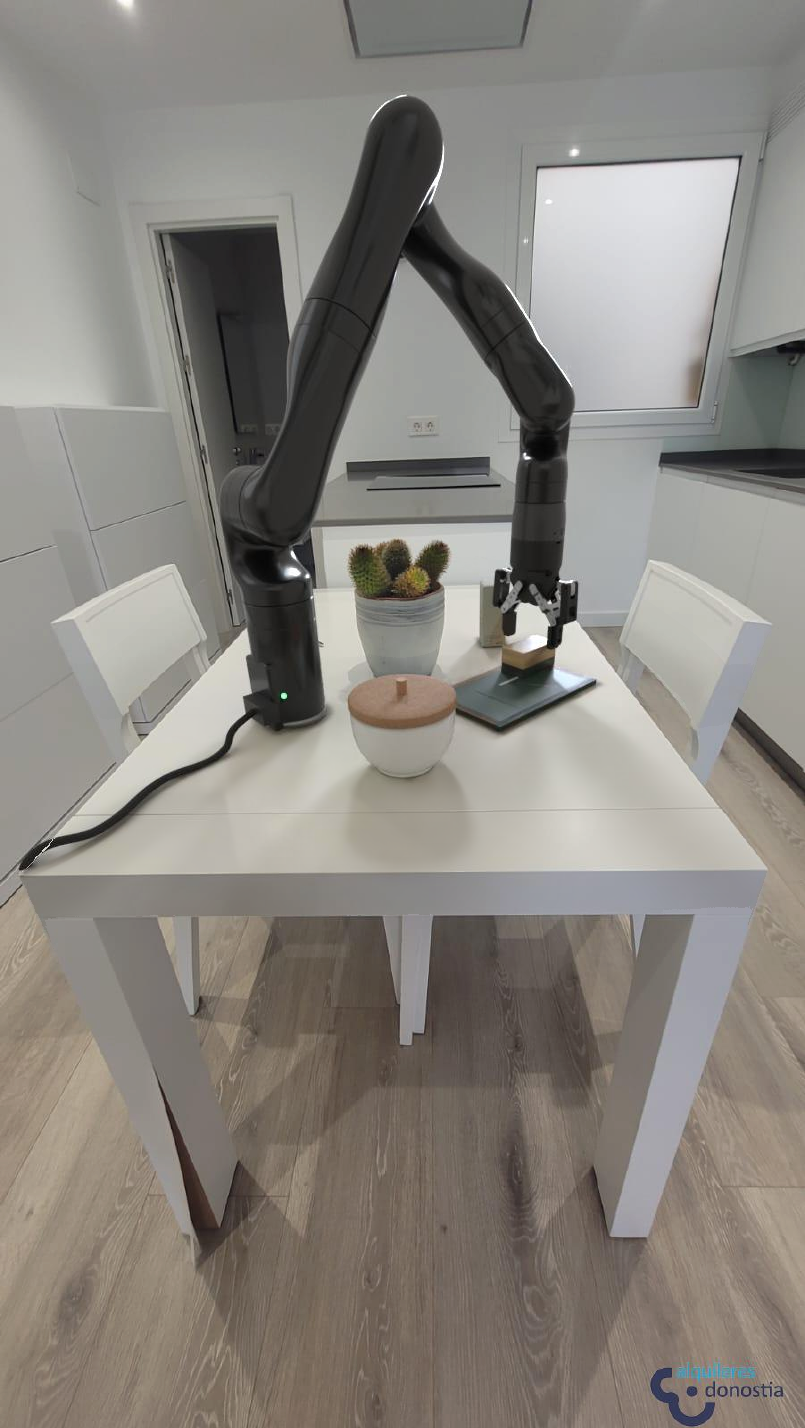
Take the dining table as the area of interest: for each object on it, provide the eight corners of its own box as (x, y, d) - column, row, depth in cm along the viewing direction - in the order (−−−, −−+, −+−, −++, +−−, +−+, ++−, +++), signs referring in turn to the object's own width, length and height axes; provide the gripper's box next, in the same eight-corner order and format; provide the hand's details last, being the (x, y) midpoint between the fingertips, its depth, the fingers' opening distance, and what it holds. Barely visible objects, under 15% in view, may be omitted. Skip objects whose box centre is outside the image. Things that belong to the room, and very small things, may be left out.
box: (505, 646, 107) (507, 585, 102) (481, 647, 107) (482, 586, 102) (501, 637, 111) (503, 578, 106) (478, 637, 112) (479, 579, 107)
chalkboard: (500, 732, 78) (500, 726, 78) (428, 700, 88) (428, 695, 88) (596, 684, 91) (596, 679, 90) (524, 660, 100) (524, 656, 100)
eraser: (522, 679, 92) (524, 653, 90) (500, 671, 95) (501, 646, 93) (554, 665, 96) (556, 640, 94) (532, 658, 99) (534, 634, 97)
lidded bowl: (341, 749, 76) (333, 669, 71) (431, 729, 80) (430, 652, 75) (371, 801, 65) (365, 712, 60) (474, 776, 69) (476, 689, 64)
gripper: (483, 532, 88) (480, 636, 95) (562, 543, 78) (552, 659, 85) (516, 525, 92) (511, 626, 99) (596, 536, 82) (583, 647, 89)
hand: (530, 641), depth 92 cm, fingers open, 8 cm apart
